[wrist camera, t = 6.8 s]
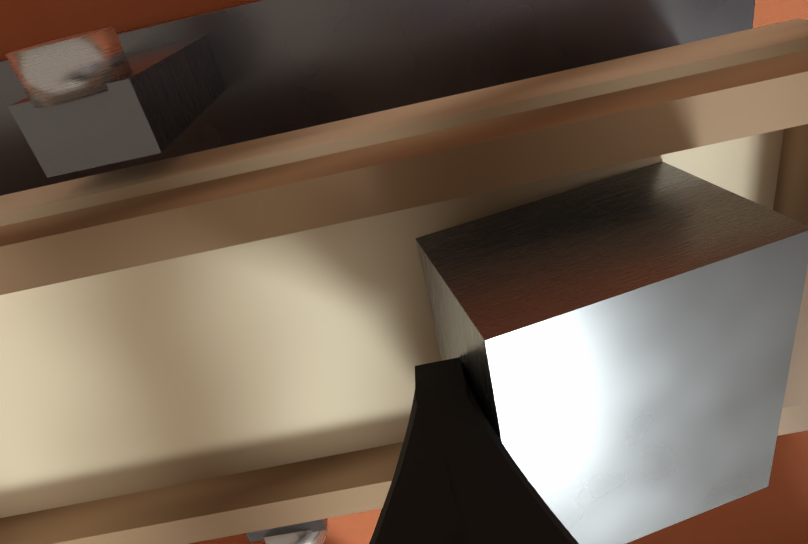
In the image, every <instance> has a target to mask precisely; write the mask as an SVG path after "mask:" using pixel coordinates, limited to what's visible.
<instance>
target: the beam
mask: <svg viewBox="0 0 808 544" xmlns="http://www.w3.org/2000/svg"><path fill="white" fill-rule="evenodd" d="M659 162H665V163H667V164H669V165H672V166H674V167H676V168H678V169H681V170H683V171H685V172H687V173H690V174H692V175H694V176H697V177H699V178H701V179H703V180H706V181H708V182H710V183H712V184H715V185H717V186H719V187H721V188H724V189H726V190H728V191H730V192H733V193H735V194H737V195H739V196H742V197H744V198H746V199H749V200H751V201H753V202H755V203H758V204H760V205H762V206H764V207H767V208H769V209H771V210H773V211H776V212H778V213H780V214H782V215H785V216H787V217H789V218H791V219H794V220H796V221H798V222H801V223H803V224H805V225H807V226H808V20H804V19H799V18H798V19H794V20H789V21H785V22H780V23H776V24H771V25H767V26H762V27H758V28H753V29H749V30H744V31H740V32H735V33H731V34H726V35H722V36H717V37H713V38H708V39H704V40H699V41H695V42H690V43H686V44H681V45H677V46H672V47H668V48H663V49H659V50H654V51H650V52H645V53H641V54H636V55H632V56H627V57H623V58H618V59H614V60H609V61H605V62H600V63H596V64H591V65H587V66H582V67H578V68H573V69H569V70H564V71H560V72H555V73H551V74H546V75H542V76H537V77H533V78H528V79H524V80H519V81H515V82H510V83H506V84H501V85H497V86H492V87H488V88H483V89H479V90H474V91H470V92H465V93H461V94H456V95H452V96H447V97H443V98H438V99H434V100H429V101H425V102H420V103H416V104H411V105H407V106H402V107H398V108H393V109H389V110H384V111H380V112H375V113H371V114H366V115H362V116H357V117H353V118H348V119H344V120H339V121H335V122H330V123H326V124H321V125H317V126H312V127H308V128H303V129H299V130H294V131H290V132H285V133H281V134H276V135H272V136H267V137H263V138H258V139H254V140H249V141H245V142H240V143H236V144H231V145H227V146H222V147H218V148H213V149H209V150H204V151H200V152H195V153H191V154H186V155H182V156H177V157H173V158H168V159H164V160H159V161H155V162H150V163H146V164H141V165H137V166H132V167H128V168H123V169H119V170H114V171H110V172H105V173H101V174H96V175H92V176H87V177H83V178H78V179H74V180H69V181H65V182H60V183H56V184H51V185H47V186H42V187H38V188H33V189H29V190H24V191H20V192H15V193H11V194H6V195H2V196H0V544H190V543H195V542H201V541H206V540H212V539H217V538H222V537H228V536H233V535H239V534H244V533H250V532H255V531H261V530H266V529H272V528H277V527H283V526H288V525H293V524H299V523H304V522H310V521H315V520H321V519H326V518H332V517H337V516H343V515H348V514H354V513H359V512H364V511H370V510H375V509H381V508H383V505H384V502H385V499H386V497H387V494H388V491H389V488H390V485H391V482H392V479H393V476H394V473H395V469H396V466H397V462H398V459H399V455H400V452H401V448H402V445H403V441H404V438H405V434H406V430H407V426H408V422H409V417H410V413H411V408H412V403H413V398H414V392H415V366H417V365H422V364H427V363H432V362H437V361H442V358H441V354H440V349H439V345H438V340H437V335H436V331H435V326H434V322H433V317H432V313H431V308H430V304H429V299H428V295H427V290H426V286H425V281H424V276H423V272H422V267H421V263H420V258H419V254H418V249H417V245H416V240H415V238H418V237H421V236H424V235H428V234H431V233H434V232H437V231H441V230H444V229H447V228H450V227H453V226H457V225H460V224H463V223H466V222H469V221H473V220H476V219H479V218H482V217H486V216H489V215H492V214H495V213H498V212H502V211H505V210H508V209H511V208H514V207H518V206H521V205H524V204H527V203H531V202H534V201H537V200H540V199H543V198H547V197H550V196H553V195H556V194H559V193H563V192H566V191H569V190H572V189H576V188H579V187H582V186H585V185H588V184H592V183H595V182H598V181H601V180H604V179H608V178H611V177H614V176H617V175H621V174H624V173H627V172H630V171H633V170H637V169H640V168H643V167H646V166H649V165H653V164H656V163H659ZM807 430H808V267H807V272H806V278H805V284H804V289H803V295H802V300H801V306H800V312H799V317H798V323H797V328H796V334H795V340H794V345H793V351H792V356H791V362H790V368H789V373H788V379H787V384H786V390H785V396H784V401H783V407H782V412H781V418H780V424H779V429H778V435H777V436H779V435H785V434H790V433H796V432H801V431H807Z"/></svg>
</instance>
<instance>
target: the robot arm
mask: <svg viewBox="0 0 808 544" xmlns="http://www.w3.org/2000/svg"><path fill="white" fill-rule="evenodd" d="M369 544H579V543H578V542H577V541H576V539H575V538H574V537H573V536H572V535H571V534H570V532H569V531H568V530H567V529H566V528H565V526H564V525H563V524H562V523H561V521H560V520H559V519H558V518H557V517H556V515H555V514H554V513H553V512H552V510H551V509H550V508H549V507H548V505H547V504H546V503H545V501H544V500H543V499H542V498H541V496H540V495H539V494H538V492H537V491H536V490H535V488H534V487H533V486H532V485H531V483H530V482H529V481H528V479H527V478H526V476H525V475H524V474H523V472H522V471H521V470H520V468H519V467H518V465H517V464H516V463H515V461H514V460H513V458H512V457H511V455H510V454H509V452H508V451H507V449H506V448H505V446H504V445H503V443H502V442H501V440H500V439H499V437H498V436H497V434H496V433H495V431H494V430H493V428H492V427H491V425H490V423H489V422H488V420H487V419H486V417H485V415H484V413H483V412H482V410H481V408H480V406H479V404H478V403H477V401H476V399H475V397H474V395H473V393H472V391H471V389H470V387H469V385H468V383H467V381H466V378H465V376H464V373H463V370H462V366H461V361H460V360H459V358H453V359H448V360H442V361H437V362H432V363H427V364H422V365H417V366H415V392H414V398H413V403H412V408H411V413H410V417H409V422H408V426H407V430H406V434H405V438H404V441H403V445H402V448H401V452H400V455H399V459H398V462H397V466H396V469H395V473H394V476H393V479H392V482H391V485H390V488H389V491H388V494H387V497H386V499H385V502H384V505H383V508H382V511H381V513H380V516H379V519H378V522H377V525H376V527H375V530H374V533H373V535H372V538H371V541H370V543H369Z"/></svg>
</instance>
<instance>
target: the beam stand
mask: <svg viewBox="0 0 808 544" xmlns="http://www.w3.org/2000/svg"><path fill="white" fill-rule="evenodd" d="M754 7H755V0H258V1H254V2H249V3H245V4H241V5H236V6H232V7H228V8H224V9H219V10H215V11H211V12H207V13H202V14H198V15H194V16H190V17H185V18H181V19H177V20H173V21H168V22H164V23H160V24H156V25H151V26H147V27H143V28H139V29H134V30H130V31H126V32H122V33H117V34H116V32H115V29H114V27H107V28H102V29H97V30H93V31H88V32H84V33H80V34H76V35H72V36H68V37H64V38H60V39H56V40H52V41H48V42H44V43H41V44H37V45H33V46H30V47H26V48H23V49H19V50H16V51H13V52H9V53H7V54H5V56H6V58H7V60H2V61H0V196H2V195H6V194H11V193H15V192H20V191H24V190H29V189H33V188H38V187H42V186H47V185H51V184H56V183H60V182H65V181H69V180H74V179H78V178H83V177H87V176H92V175H96V174H101V173H105V172H110V171H114V170H119V169H123V168H128V167H132V166H137V165H141V164H146V163H150V162H155V161H159V160H164V159H168V158H173V157H177V156H182V155H186V154H191V153H195V152H200V151H204V150H209V149H213V148H218V147H222V146H227V145H231V144H236V143H240V142H245V141H249V140H254V139H258V138H263V137H267V136H272V135H276V134H281V133H285V132H290V131H294V130H299V129H303V128H308V127H312V126H317V125H321V124H326V123H330V122H335V121H339V120H344V119H348V118H353V117H357V116H362V115H366V114H371V113H375V112H380V111H384V110H389V109H393V108H398V107H402V106H407V105H411V104H416V103H420V102H425V101H429V100H434V99H438V98H443V97H447V96H452V95H456V94H461V93H465V92H470V91H474V90H479V89H483V88H488V87H492V86H497V85H501V84H506V83H510V82H515V81H519V80H524V79H528V78H533V77H537V76H542V75H546V74H551V73H555V72H560V71H564V70H569V69H573V68H578V67H582V66H587V65H591V64H596V63H600V62H605V61H609V60H614V59H618V58H623V57H627V56H632V55H636V54H641V53H645V52H650V51H654V50H659V49H663V48H668V47H672V46H677V45H681V44H686V43H690V42H695V41H699V40H704V39H708V38H713V37H717V36H722V35H726V34H731V33H735V32H740V31H744V30H749V29H752V27H753V17H754ZM327 519H328V518H326V519H321V520H315V521H310V522H304V523H299V524H293V525H288V526H283V527H277V528H272V529H266V530H261V531H255V532H250V533H245V534H246V536H247V538H248V540H249V541H250V542H255V541H261V540H264V541H265V543H266V544H323V543H324V542H325V539H326V537H327V533H328V524H327Z"/></svg>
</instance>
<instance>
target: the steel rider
mask: <svg viewBox="0 0 808 544" xmlns="http://www.w3.org/2000/svg"><path fill="white" fill-rule="evenodd" d="M415 240H416V245H417V249H418V254H419V258H420V263H421V267H422V272H423V276H424V281H425V286H426V290H427V295H428V299H429V304H430V308H431V313H432V317H433V322H434V326H435V331H436V335H437V340H438V345H439V349H440V354H441V358H442V360H448V359H453V358H459V360H460V361H461V366H462V370H463V373H464V376H465V378H466V381H467V383H468V385H469V387H470V389H471V391H472V393H473V395H474V397H475V399H476V401H477V403H478V404H479V406H480V408H481V410H482V412H483V413H484V415H485V417H486V419H487V420H488V422H489V423H490V425H491V427H492V428H493V430H494V431H495V433H496V434H497V436H498V437H499V439H500V440H501V442H502V443H503V445H504V446H505V448H506V449H507V451H508V452H509V454H510V455H511V457H512V458H513V460H514V461H515V463H516V464H517V465H518V467H519V468H520V470H521V471H522V472H523V474H524V475H525V476H526V478H527V479H528V481H529V482H530V483H531V485H532V486H533V487H534V488H535V490H536V491H537V492H538V494H539V495H540V496H541V498H542V499H543V500H544V501H545V503H546V504H547V505H548V507H549V508H550V509H551V510H552V512H553V513H554V514H555V515H556V517H557V518H558V519H559V520H560V521H561V523H562V524H563V525H564V526H565V528H566V529H567V530H568V531H569V532H570V534H571V535H572V536H573V537H574V538H575V539H576V541H577V542H578V543H579V544H626V543H629V542H631V541H634V540H636V539H639V538H641V537H644V536H646V535H649V534H651V533H654V532H656V531H659V530H661V529H664V528H666V527H669V526H671V525H674V524H676V523H679V522H681V521H684V520H686V519H689V518H691V517H693V516H696V515H698V514H701V513H703V512H706V511H708V510H711V509H713V508H716V507H718V506H721V505H723V504H726V503H728V502H731V501H733V500H736V499H738V498H741V497H743V496H746V495H748V494H751V493H753V492H756V491H758V490H761V489H763V488H766V487H768V485H769V479H770V474H771V468H772V463H773V457H774V452H775V446H776V440H777V435H778V429H779V424H780V418H781V412H782V407H783V401H784V396H785V390H786V384H787V379H788V373H789V368H790V362H791V356H792V351H793V345H794V340H795V334H796V328H797V323H798V317H799V312H800V306H801V300H802V295H803V289H804V284H805V278H806V272H807V267H808V226H807V225H805V224H803V223H801V222H798V221H796V220H794V219H791V218H789V217H787V216H785V215H782V214H780V213H778V212H776V211H773V210H771V209H769V208H767V207H764V206H762V205H760V204H758V203H755V202H753V201H751V200H749V199H746V198H744V197H742V196H739V195H737V194H735V193H733V192H730V191H728V190H726V189H724V188H721V187H719V186H717V185H715V184H712V183H710V182H708V181H706V180H703V179H701V178H699V177H697V176H694V175H692V174H690V173H687V172H685V171H683V170H681V169H678V168H676V167H674V166H672V165H669V164H667V163H665V162H659V163H656V164H653V165H649V166H646V167H643V168H640V169H637V170H633V171H630V172H627V173H624V174H621V175H617V176H614V177H611V178H608V179H604V180H601V181H598V182H595V183H592V184H588V185H585V186H582V187H579V188H576V189H572V190H569V191H566V192H563V193H559V194H556V195H553V196H550V197H547V198H543V199H540V200H537V201H534V202H531V203H527V204H524V205H521V206H518V207H514V208H511V209H508V210H505V211H502V212H498V213H495V214H492V215H489V216H486V217H482V218H479V219H476V220H473V221H469V222H466V223H463V224H460V225H457V226H453V227H450V228H447V229H444V230H441V231H437V232H434V233H431V234H428V235H424V236H421V237H418V238H415Z"/></svg>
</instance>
